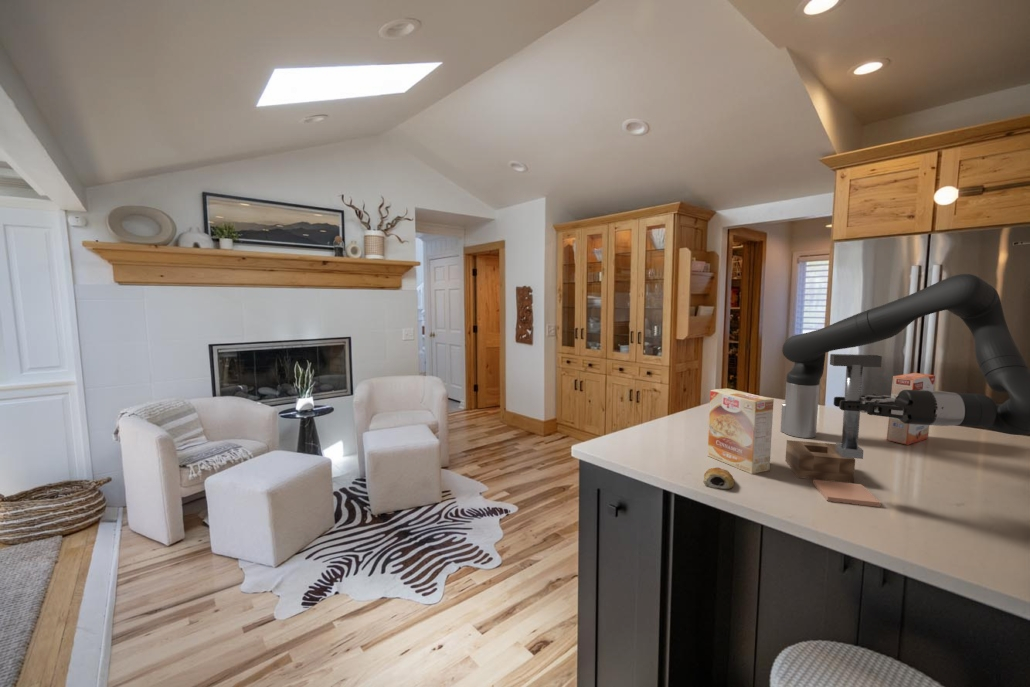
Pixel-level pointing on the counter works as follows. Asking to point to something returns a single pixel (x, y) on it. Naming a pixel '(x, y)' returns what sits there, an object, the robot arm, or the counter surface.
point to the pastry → (718, 478)
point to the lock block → (819, 461)
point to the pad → (846, 493)
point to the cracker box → (896, 427)
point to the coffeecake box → (740, 429)
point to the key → (852, 393)
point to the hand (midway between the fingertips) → (837, 403)
